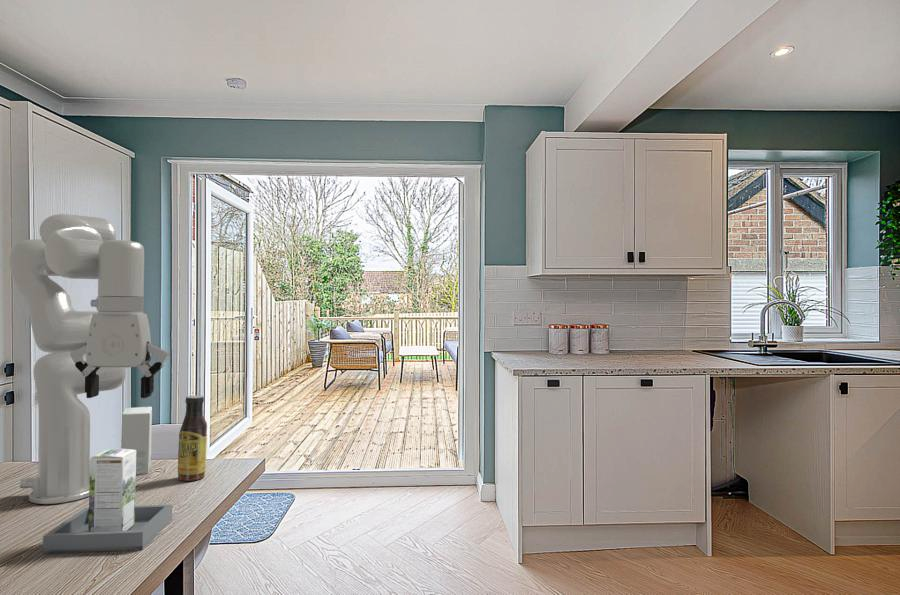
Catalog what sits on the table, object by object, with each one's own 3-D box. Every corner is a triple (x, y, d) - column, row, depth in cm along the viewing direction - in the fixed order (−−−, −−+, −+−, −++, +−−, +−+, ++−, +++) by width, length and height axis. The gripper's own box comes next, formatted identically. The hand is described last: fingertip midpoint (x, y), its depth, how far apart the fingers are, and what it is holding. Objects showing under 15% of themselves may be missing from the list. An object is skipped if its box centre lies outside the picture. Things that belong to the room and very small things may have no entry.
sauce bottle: (171, 481, 139) (172, 397, 140) (189, 473, 146) (189, 393, 146) (196, 483, 138) (196, 398, 138) (212, 475, 144) (212, 394, 144)
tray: (42, 554, 99) (43, 536, 99) (85, 523, 113) (85, 507, 113) (142, 549, 101) (142, 532, 101) (172, 519, 115) (172, 504, 115)
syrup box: (103, 526, 109) (103, 448, 110) (136, 525, 110) (136, 447, 110) (87, 538, 104) (88, 456, 104) (122, 537, 104) (123, 455, 105)
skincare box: (123, 468, 151) (124, 407, 151) (152, 465, 153) (153, 405, 153) (119, 477, 143) (120, 413, 143) (150, 474, 145) (150, 411, 146)
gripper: (61, 305, 106) (59, 400, 106) (160, 307, 107) (159, 400, 107) (83, 305, 113) (82, 393, 113) (176, 306, 115) (174, 393, 115)
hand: (119, 396), depth 110 cm, fingers open, 9 cm apart
